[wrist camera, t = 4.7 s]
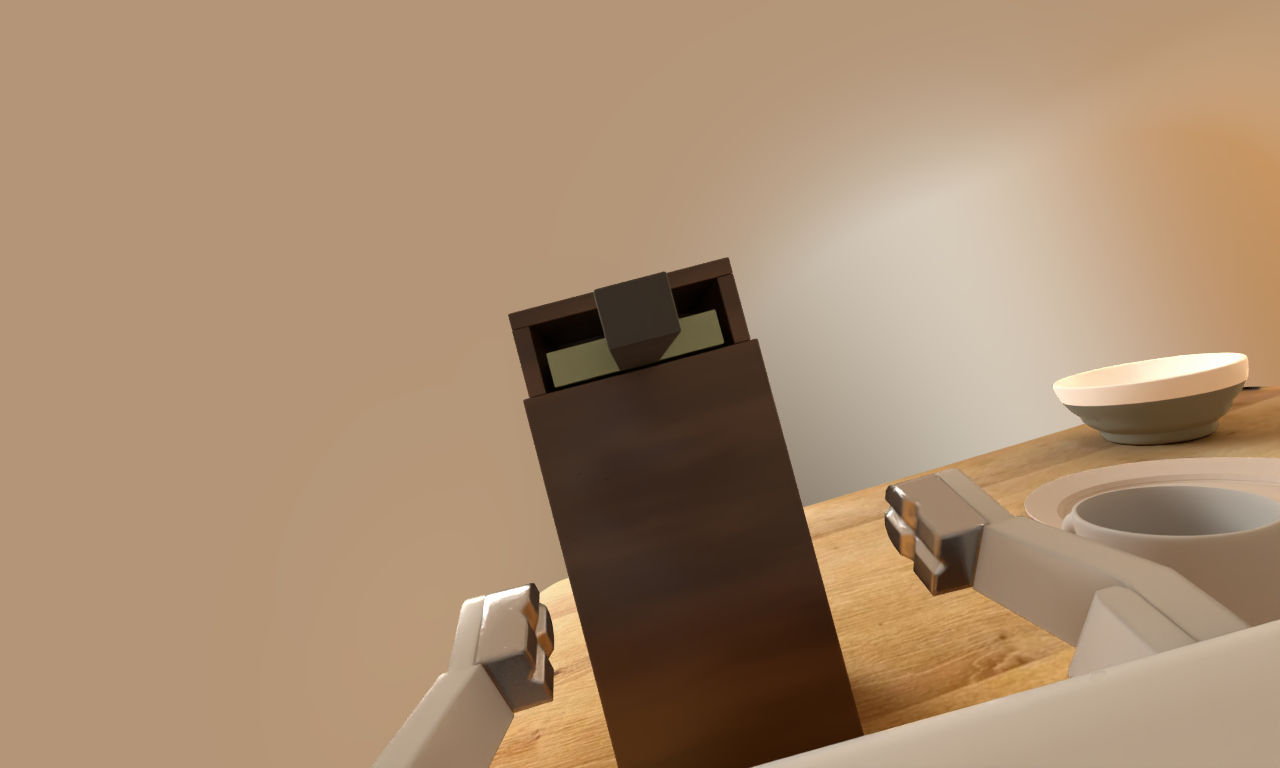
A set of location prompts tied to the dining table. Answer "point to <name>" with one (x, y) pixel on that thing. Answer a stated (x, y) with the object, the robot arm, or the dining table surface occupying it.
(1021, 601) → the robot arm
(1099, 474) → the plate
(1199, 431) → the bowl
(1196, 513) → the mug
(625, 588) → the stand
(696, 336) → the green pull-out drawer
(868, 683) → the dining table surface
